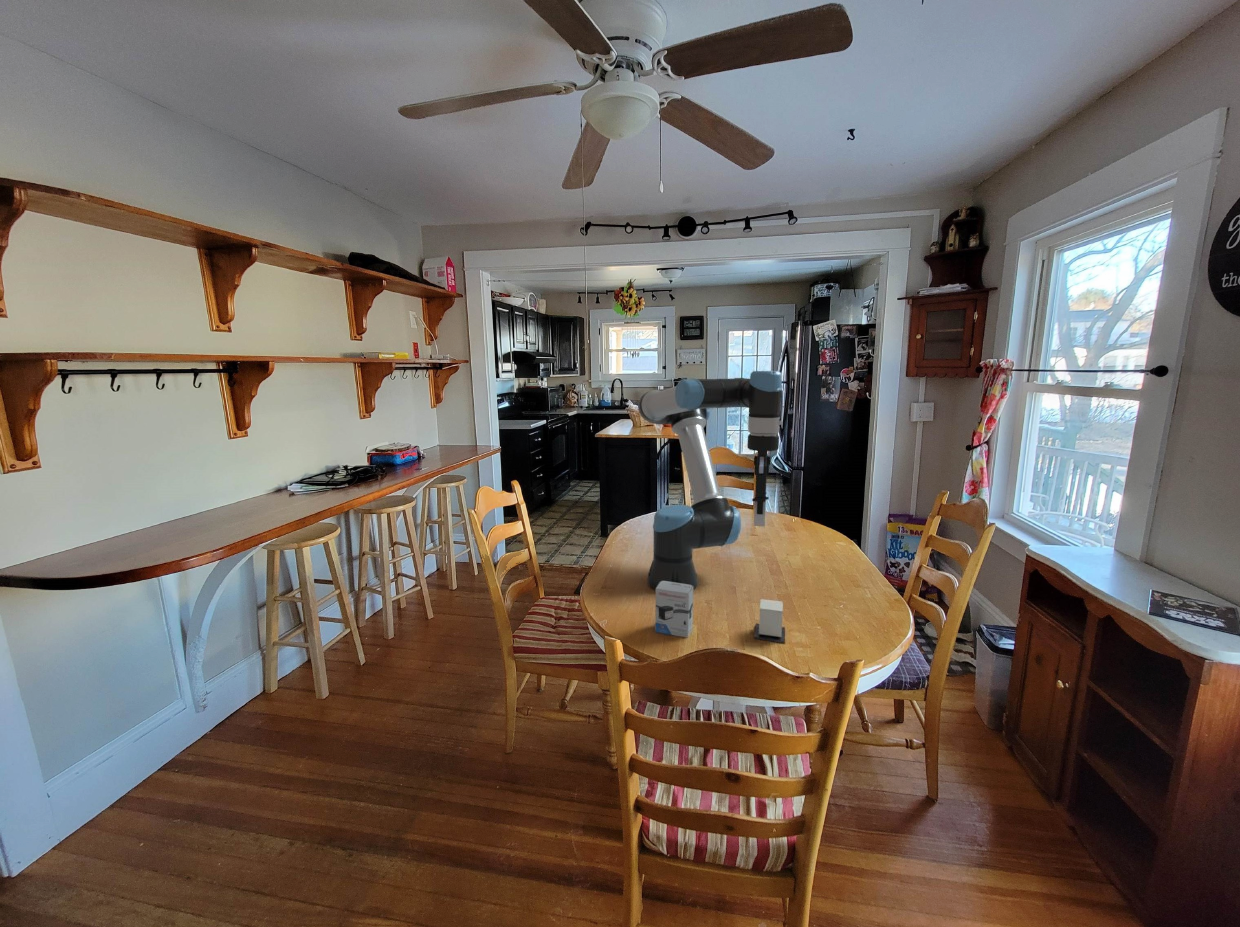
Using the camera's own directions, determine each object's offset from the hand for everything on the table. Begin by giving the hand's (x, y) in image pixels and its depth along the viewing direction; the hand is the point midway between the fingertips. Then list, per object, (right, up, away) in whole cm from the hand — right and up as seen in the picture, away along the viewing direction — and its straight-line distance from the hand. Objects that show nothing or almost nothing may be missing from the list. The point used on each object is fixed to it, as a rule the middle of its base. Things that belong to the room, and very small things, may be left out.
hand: (759, 525), depth 130 cm
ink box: (-22, -26, -4) cm, 35 cm away
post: (+1, -26, -6) cm, 27 cm away
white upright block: (+1, -25, -6) cm, 26 cm away
